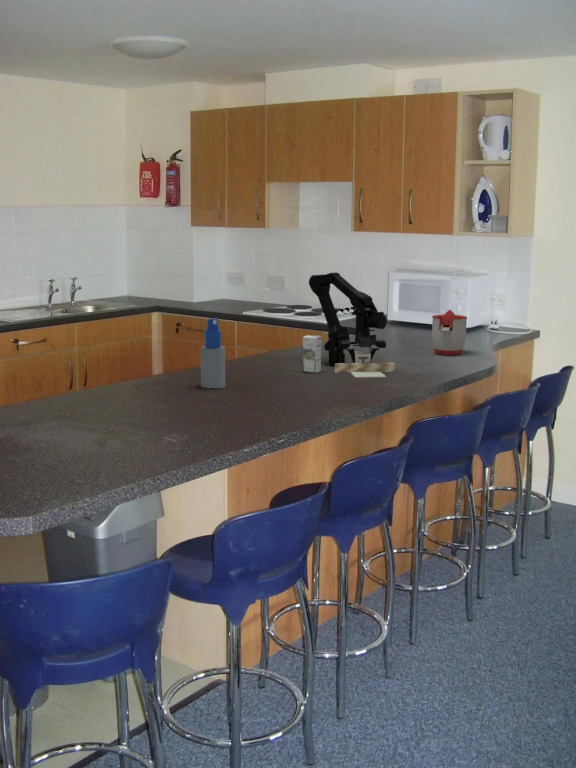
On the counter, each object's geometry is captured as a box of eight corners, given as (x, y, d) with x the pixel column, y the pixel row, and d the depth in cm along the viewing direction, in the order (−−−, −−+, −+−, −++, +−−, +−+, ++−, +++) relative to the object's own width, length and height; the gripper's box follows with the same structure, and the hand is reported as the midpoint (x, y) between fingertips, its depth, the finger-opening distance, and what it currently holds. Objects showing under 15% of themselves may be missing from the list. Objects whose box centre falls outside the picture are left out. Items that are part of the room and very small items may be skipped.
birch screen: (335, 372, 349) (335, 364, 348) (334, 372, 350) (334, 363, 350) (394, 371, 352) (394, 363, 351) (393, 371, 353) (393, 362, 352)
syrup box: (321, 370, 353) (321, 335, 350) (315, 373, 347) (315, 337, 345) (308, 369, 355) (308, 334, 352) (302, 372, 350) (302, 336, 347)
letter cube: (355, 368, 354) (356, 354, 353) (353, 366, 360) (353, 351, 359) (370, 368, 354) (370, 353, 353) (367, 365, 360) (367, 351, 359)
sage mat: (355, 377, 339) (355, 376, 339) (350, 373, 348) (350, 372, 348) (385, 377, 340) (385, 376, 340) (380, 372, 350) (380, 371, 350)
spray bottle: (229, 387, 320) (228, 319, 315) (206, 389, 316) (205, 320, 311) (219, 382, 328) (219, 316, 323) (197, 385, 324) (196, 317, 319)
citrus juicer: (426, 355, 390) (427, 311, 386) (434, 350, 406) (436, 307, 402) (461, 358, 385) (463, 312, 381) (468, 352, 400) (470, 308, 396)
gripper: (343, 329, 345) (342, 368, 348) (389, 329, 347) (388, 368, 350) (338, 325, 356) (337, 363, 359) (383, 325, 358) (382, 363, 361)
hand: (361, 364), depth 357 cm, fingers closed on letter cube, 6 cm apart
